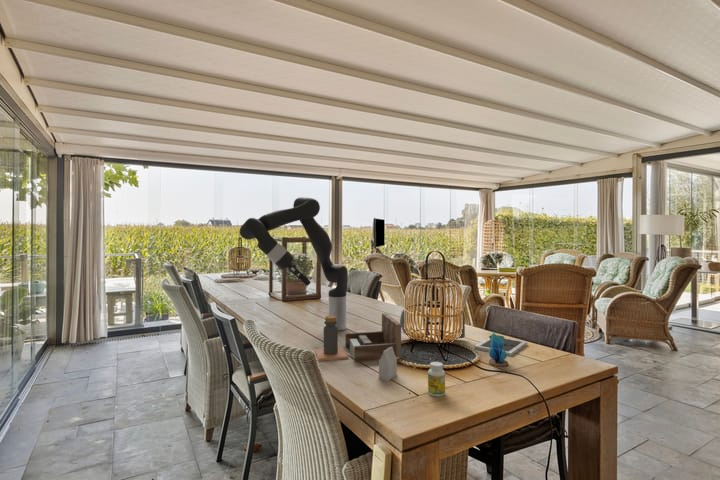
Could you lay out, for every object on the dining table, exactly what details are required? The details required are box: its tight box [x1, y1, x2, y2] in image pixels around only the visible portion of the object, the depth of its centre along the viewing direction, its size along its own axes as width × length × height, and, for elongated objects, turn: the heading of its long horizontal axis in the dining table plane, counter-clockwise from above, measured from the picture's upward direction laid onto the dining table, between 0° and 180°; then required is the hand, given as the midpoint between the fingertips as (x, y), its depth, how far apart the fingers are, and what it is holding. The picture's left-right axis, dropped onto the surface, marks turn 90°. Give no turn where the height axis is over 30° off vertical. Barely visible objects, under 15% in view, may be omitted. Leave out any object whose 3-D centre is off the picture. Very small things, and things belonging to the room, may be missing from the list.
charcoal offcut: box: [358, 335, 372, 345], centre depth 168 cm, size 12×3×6 cm, turn 13°
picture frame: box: [474, 334, 528, 357], centre depth 176 cm, size 16×3×21 cm
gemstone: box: [488, 332, 509, 368], centre depth 154 cm, size 7×9×12 cm
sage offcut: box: [349, 339, 360, 357], centre depth 167 cm, size 14×3×4 cm, turn 10°
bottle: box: [323, 315, 339, 355], centre depth 165 cm, size 6×6×15 cm
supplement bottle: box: [427, 361, 446, 397], centre depth 127 cm, size 5×5×10 cm
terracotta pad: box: [314, 347, 349, 362], centre depth 165 cm, size 12×12×1 cm
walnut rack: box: [344, 312, 402, 363], centre depth 168 cm, size 21×19×14 cm
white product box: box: [378, 347, 398, 382], centre depth 141 cm, size 4×7×10 cm, turn 150°
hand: (308, 282), depth 168 cm, fingers open, 8 cm apart
